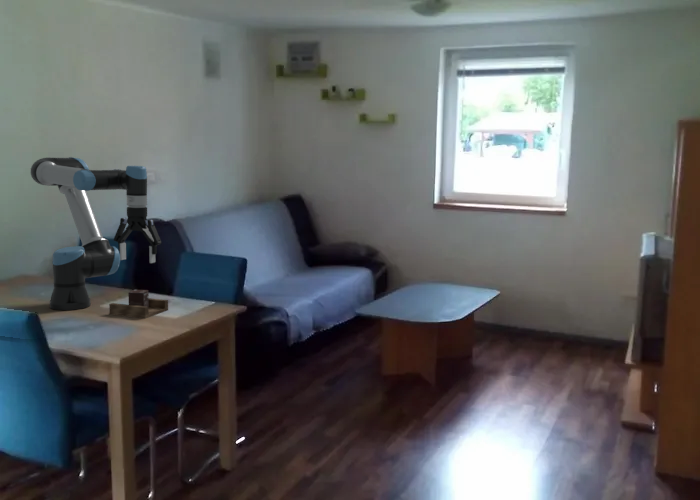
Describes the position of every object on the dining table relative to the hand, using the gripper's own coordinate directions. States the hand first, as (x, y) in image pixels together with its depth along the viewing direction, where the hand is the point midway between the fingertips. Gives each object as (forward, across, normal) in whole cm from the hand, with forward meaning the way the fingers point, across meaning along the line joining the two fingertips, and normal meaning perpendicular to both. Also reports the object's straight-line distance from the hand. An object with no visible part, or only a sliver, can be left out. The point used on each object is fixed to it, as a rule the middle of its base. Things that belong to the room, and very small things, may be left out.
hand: (137, 261), depth 265 cm
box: (+19, +2, -2) cm, 19 cm away
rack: (+20, +2, -2) cm, 20 cm away
